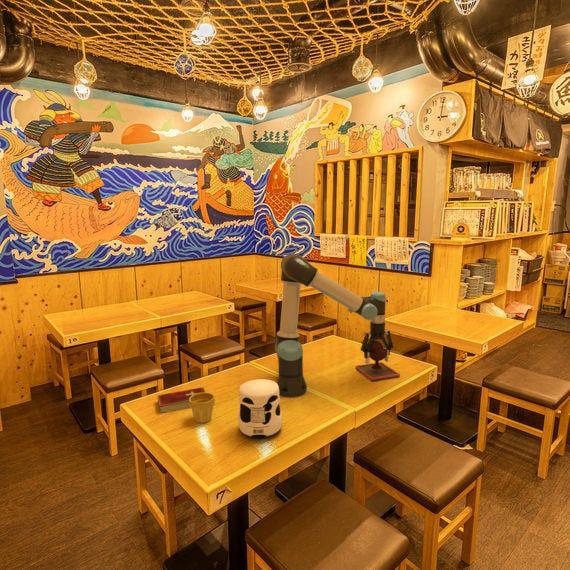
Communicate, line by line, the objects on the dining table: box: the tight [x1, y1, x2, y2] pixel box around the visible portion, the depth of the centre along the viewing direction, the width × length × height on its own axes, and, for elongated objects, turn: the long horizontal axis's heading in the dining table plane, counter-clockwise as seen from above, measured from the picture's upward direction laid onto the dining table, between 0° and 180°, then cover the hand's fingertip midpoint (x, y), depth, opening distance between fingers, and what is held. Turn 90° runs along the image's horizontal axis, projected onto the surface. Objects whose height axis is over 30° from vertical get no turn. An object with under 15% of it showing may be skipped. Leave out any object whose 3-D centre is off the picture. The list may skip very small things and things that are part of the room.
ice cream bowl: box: [368, 340, 388, 370], centre depth 207 cm, size 11×11×15 cm
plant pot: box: [189, 391, 216, 424], centre depth 165 cm, size 10×10×10 cm
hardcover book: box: [157, 386, 206, 413], centre depth 180 cm, size 12×21×4 cm, turn 112°
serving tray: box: [355, 361, 401, 383], centre depth 209 cm, size 16×18×2 cm
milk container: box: [237, 378, 283, 439], centre depth 155 cm, size 17×17×18 cm
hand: (376, 362), depth 208 cm, fingers closed on ice cream bowl, 10 cm apart
